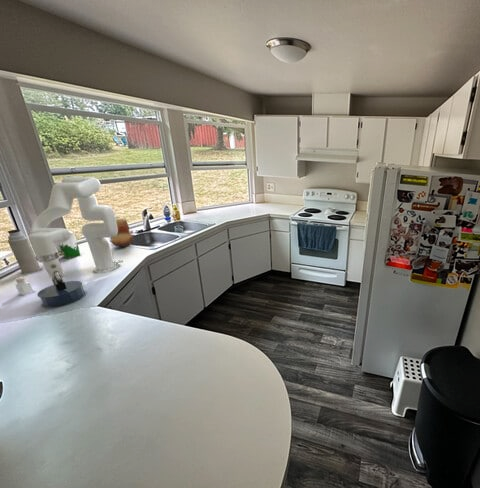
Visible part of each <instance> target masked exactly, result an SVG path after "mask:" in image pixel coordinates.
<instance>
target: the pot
mask: <svg viewBox="0 0 480 488" xmlns="http://www.w3.org/2000/svg"><path fill="white" fill-rule="evenodd" d="M85 294H86V292H85V289H84V287H83V285H82V286H81V287H80V288H79V289H77V290H75V291H73V292H71V293H68V294H65V295H62V296H58V297H52V298H40V300H41V302H42V304H43V306H44V307H46V308H58V307H59V308H60V307H64V306H67V305H70V304H72V303H75V302H77V301H79V300H81V299H82V298H84V297H85V296H86V295H85Z"/></svg>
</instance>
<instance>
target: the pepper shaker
mask: <svg viewBox="0 0 480 488" xmlns="http://www.w3.org/2000/svg"><path fill="white" fill-rule="evenodd" d="M14 280H15V281H16V285H15V287H16V290H17V292H18V294H19V295H22V296H23V295H24V296H25V295H28V294H31V293H33V292H34V289H33V287H32V285H31V282H29V281H27V279H26V277H25V276H19V277H17V278H15V279H14Z"/></svg>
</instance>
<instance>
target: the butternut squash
mask: <svg viewBox="0 0 480 488" xmlns="http://www.w3.org/2000/svg"><path fill="white" fill-rule="evenodd" d="M115 217H116V222H117V227H118V234H117V235H116V236H115V237H110V238H111V239H110V242H111V244H112V245H113V246H115V247H117V248H118V247H120V248H125V247H129V246H130V245H132V244H133V242H134V237H133V234H132V233H131V232H130V226H129V224H128V220H127V218H126V217H124V216H121V215H118V216H117V215H115Z"/></svg>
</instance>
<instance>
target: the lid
mask: <svg viewBox="0 0 480 488" xmlns="http://www.w3.org/2000/svg"><path fill="white" fill-rule="evenodd" d="M56 281H57V280H56ZM53 282H54V284H52V285H48V286H47V287H45V288H42V289H40V290H39V291H38V292H37V293H36V295H37V297H38V298H40V299H41V298H52V297H58V296H62V295H65V294H68V293H71V292H73V291H75V290H77V289H79V288H80V287H81V286H83V283H82V282H81V281H80V280H67V281H64V283H65V285H66V288H67V289H65V290H62V291H58V290H57V287H56V285H55V284H56V283H55V281H54V280H53V281H52V283H53ZM54 285H55V286H54Z"/></svg>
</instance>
